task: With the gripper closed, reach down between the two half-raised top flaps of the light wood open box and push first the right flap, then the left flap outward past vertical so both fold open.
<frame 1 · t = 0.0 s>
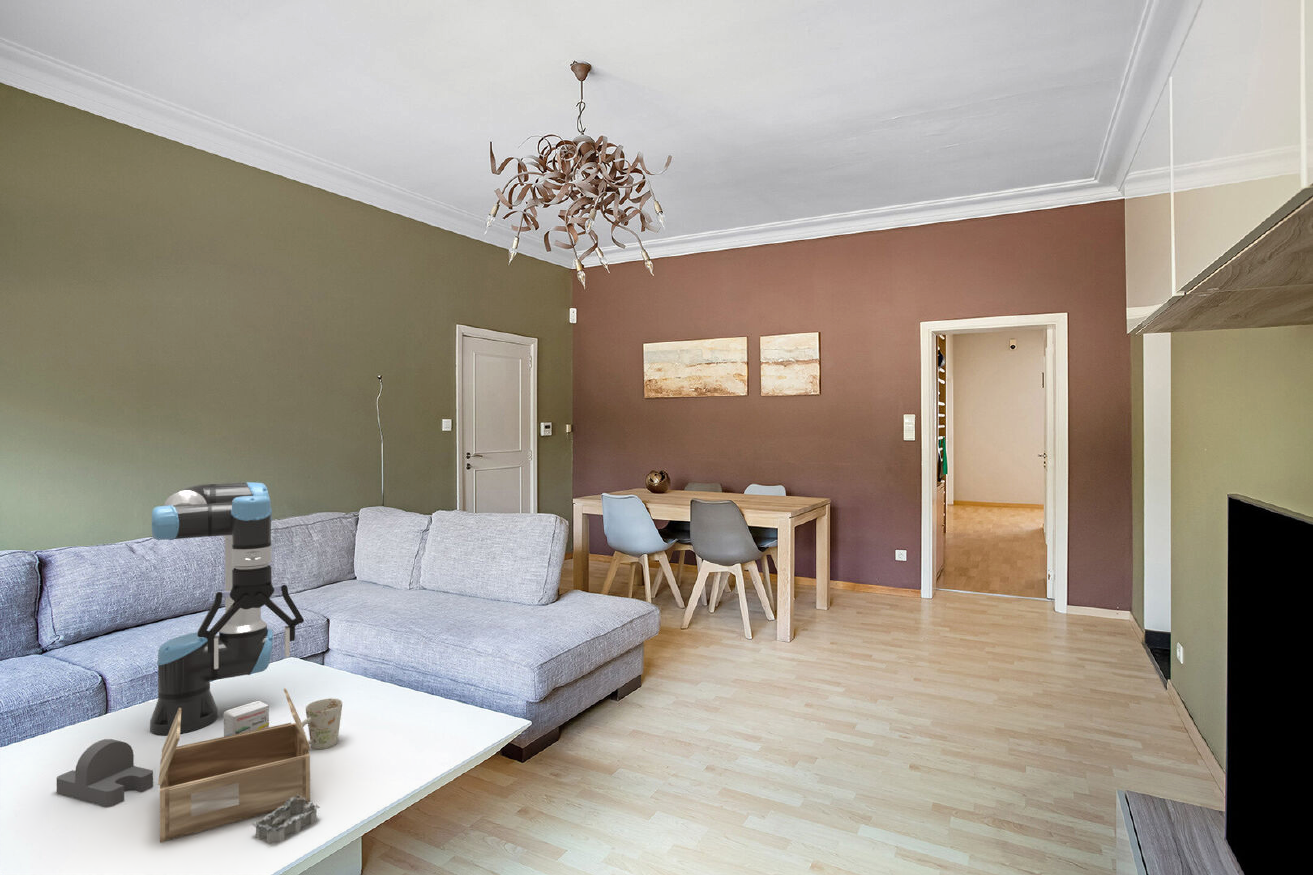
hand: (252, 661, 153), 28 cm above the table, fingers open, 13 cm apart
ink box: (247, 756, 168), on the table
mug: (317, 748, 172), on the table
bracket: (105, 791, 152), on the table
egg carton: (287, 829, 137), on the table
light wood open box: (236, 798, 148), on the table
flap 1: (170, 744, 141), point 15 cm above the table, hinge at 70.0°
flap 2: (296, 718, 154), point 15 cm above the table, hinge at 70.0°
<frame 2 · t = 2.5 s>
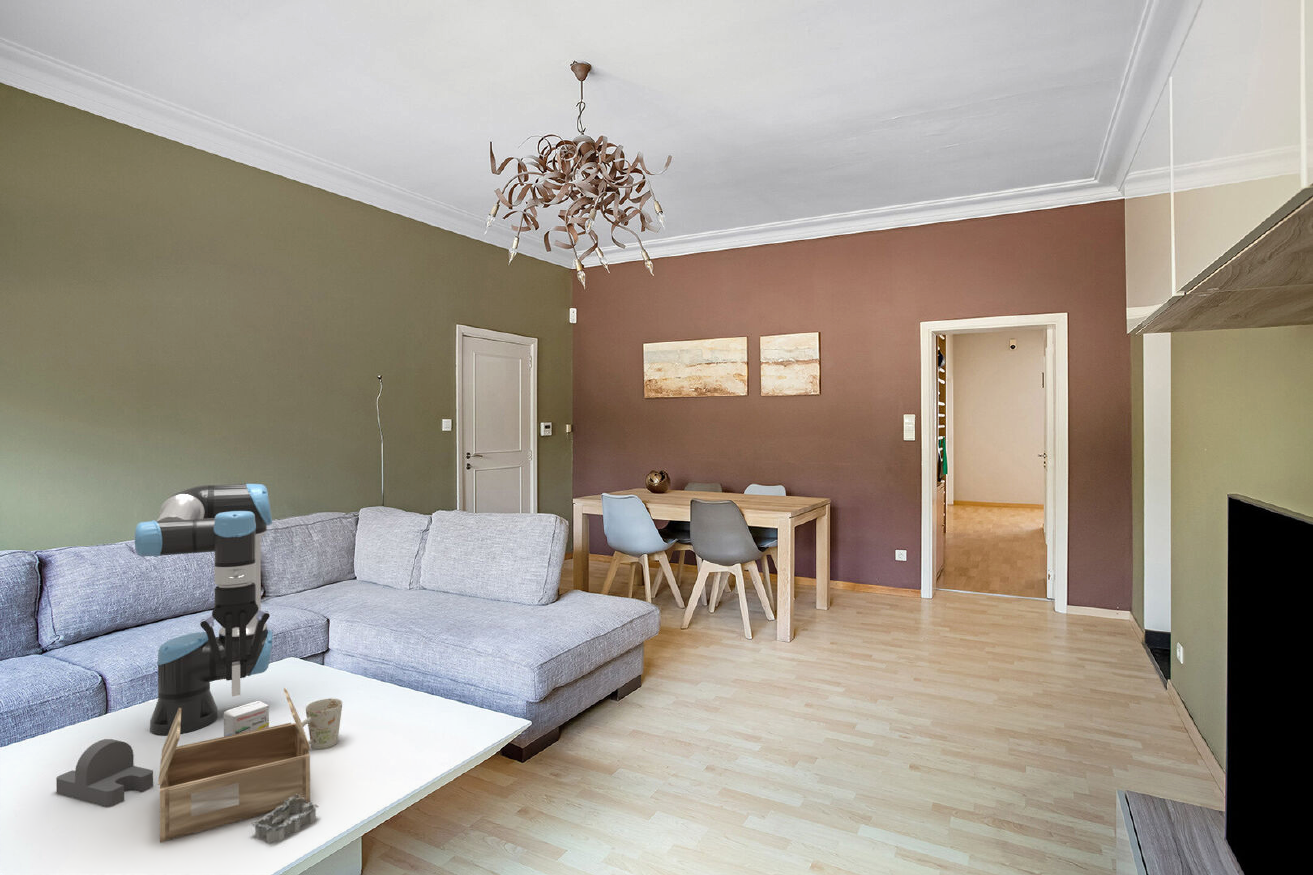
hand: (236, 693, 147), 23 cm above the table, fingers closed
nothing on the table moved.
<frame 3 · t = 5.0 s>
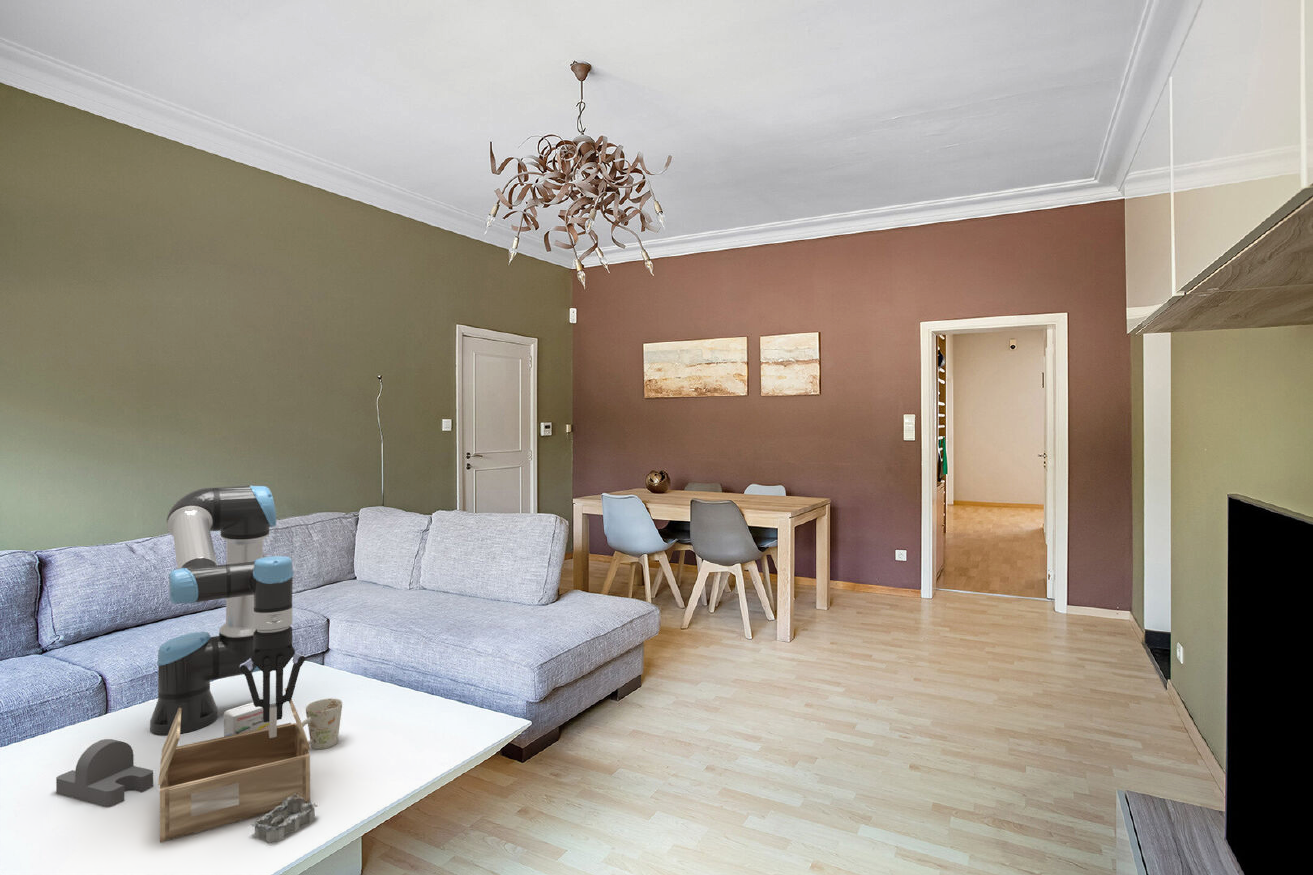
hand: (272, 734, 151), 12 cm above the table, fingers closed
flap 2: (297, 717, 154), point 15 cm above the table, hinge at 71.2°, touching gripper
everything else where it was.
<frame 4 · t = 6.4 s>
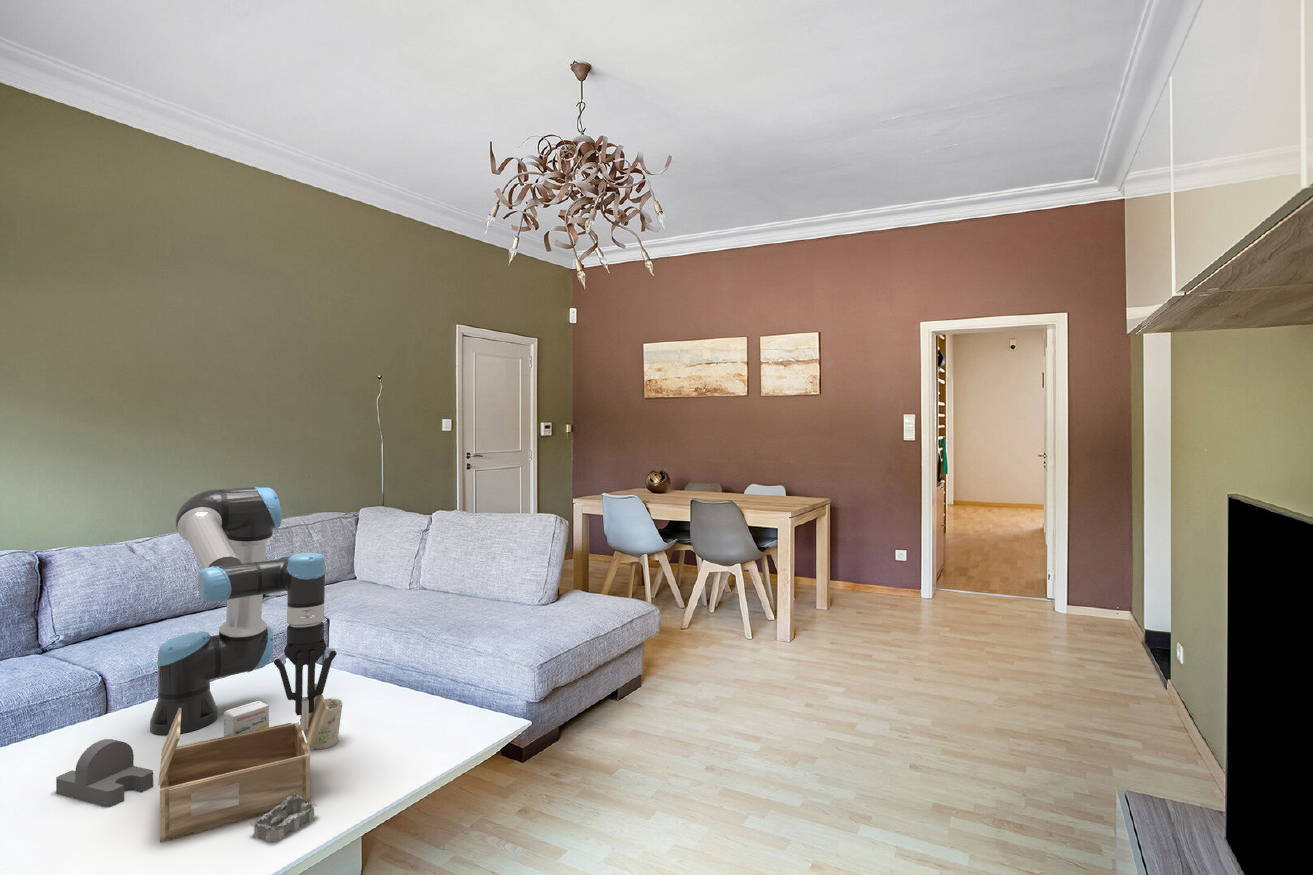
hand: (304, 727, 155), 12 cm above the table, fingers closed
flap 2: (313, 714, 156), point 15 cm above the table, hinge at 112.1°, touching gripper
everything else where it was.
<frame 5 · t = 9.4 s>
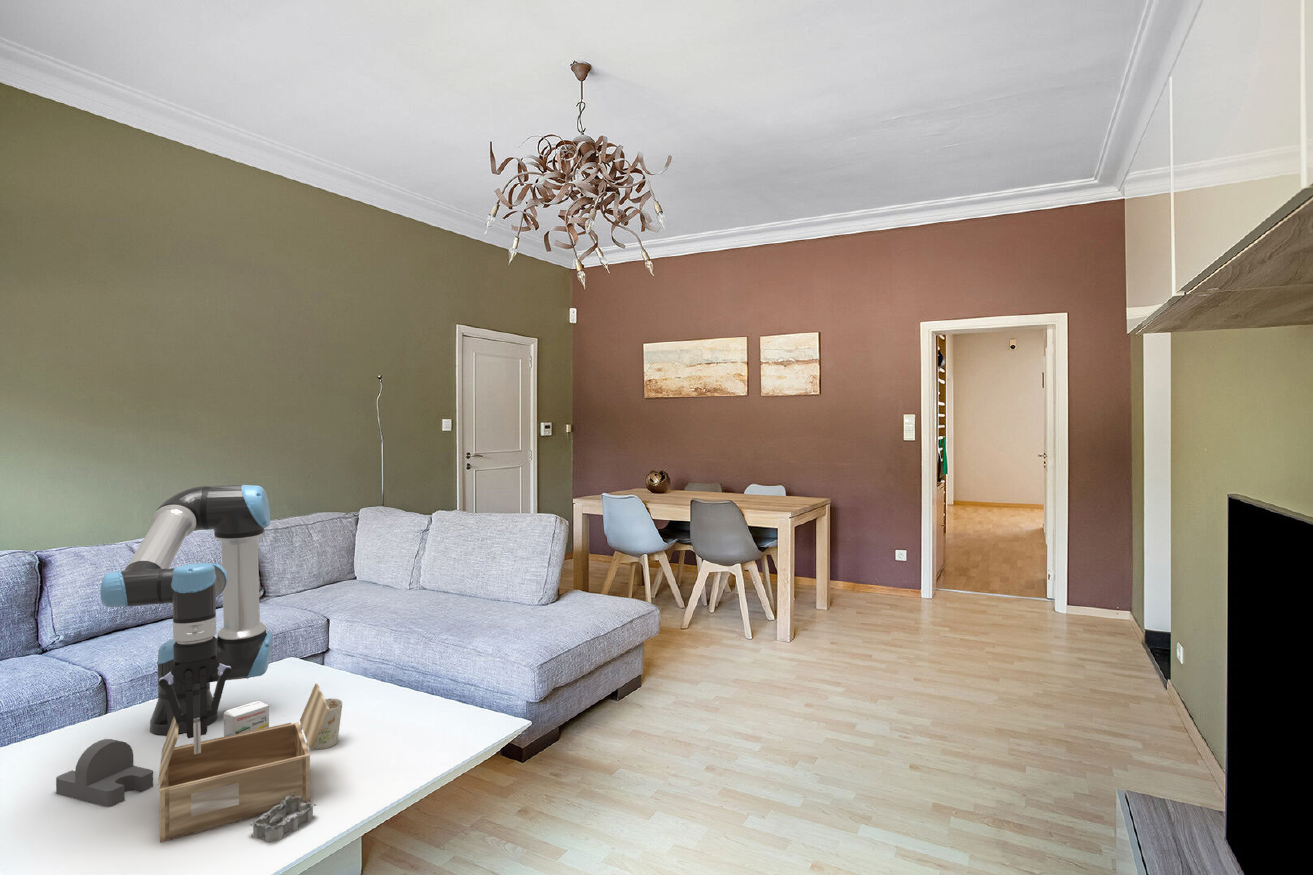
hand: (197, 751, 144), 12 cm above the table, fingers closed
flap 1: (169, 744, 141), point 15 cm above the table, hinge at 72.2°, touching gripper
flap 2: (313, 714, 156), point 15 cm above the table, hinge at 112.8°
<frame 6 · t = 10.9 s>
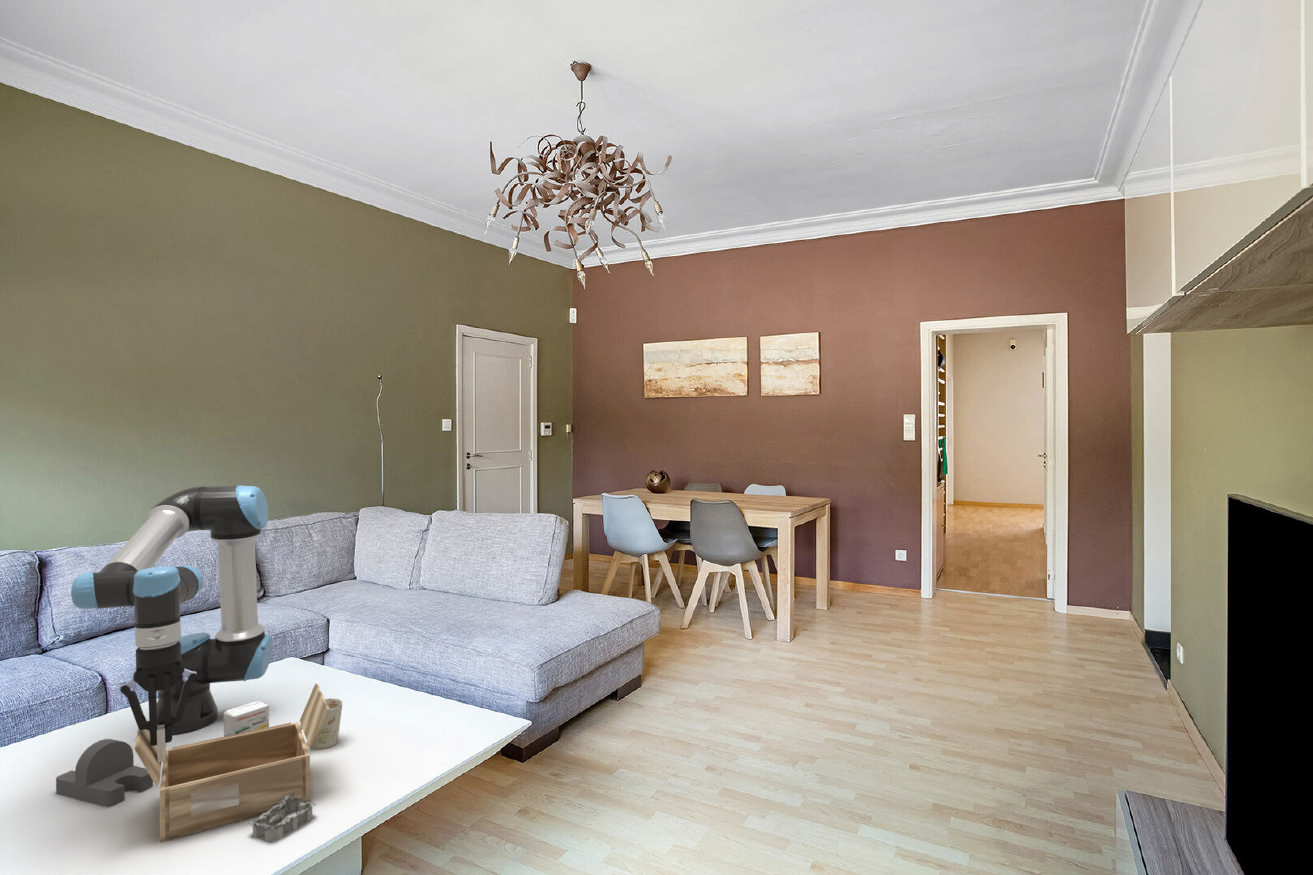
hand: (161, 758, 140), 12 cm above the table, fingers closed
flap 1: (149, 748, 139), point 15 cm above the table, hinge at 112.1°, touching gripper
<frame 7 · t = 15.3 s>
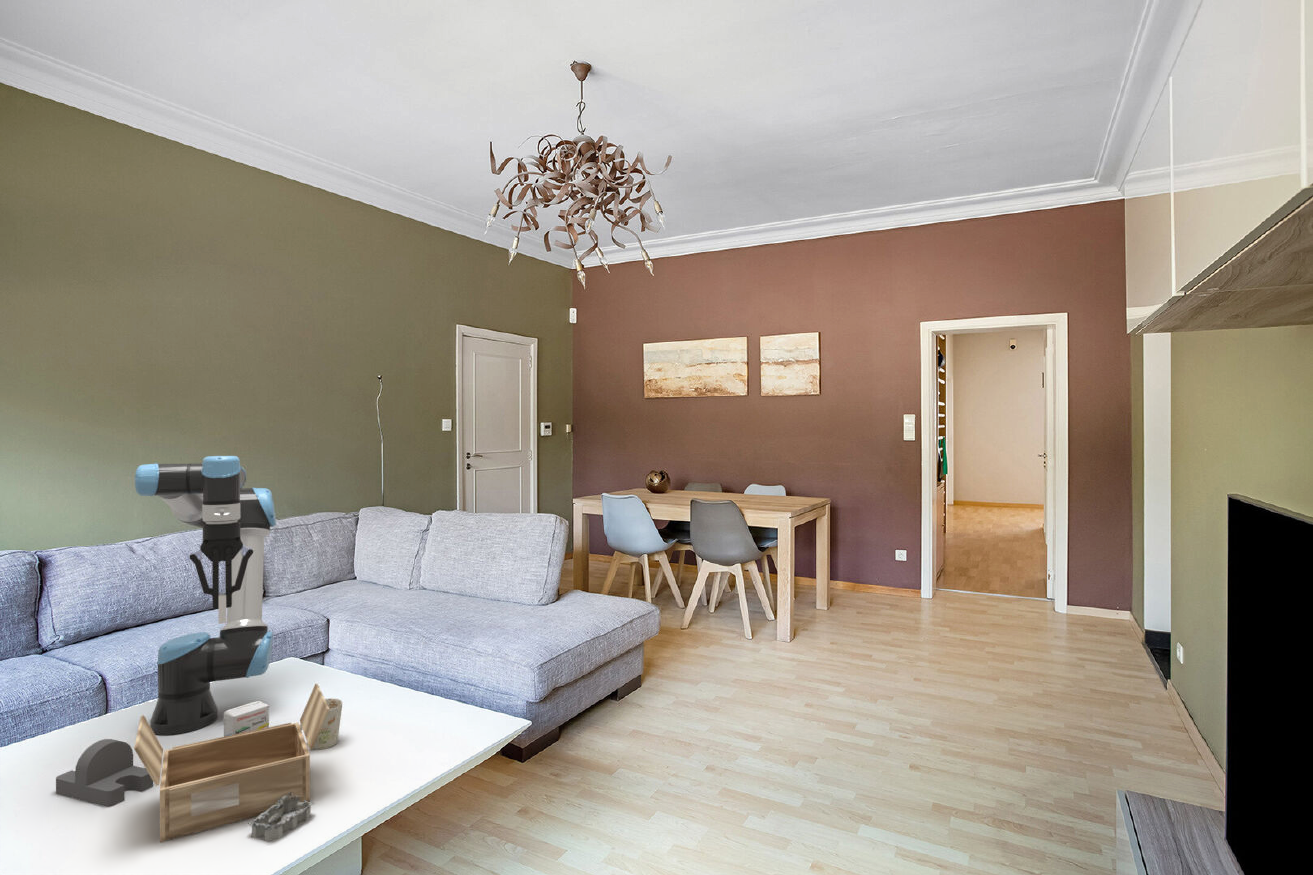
hand: (222, 621, 161), 34 cm above the table, fingers closed
flap 1: (149, 748, 139), point 15 cm above the table, hinge at 112.4°
at the end: flap 2 at +113° (first picture: +70°); flap 1 at +112° (first picture: +70°) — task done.
